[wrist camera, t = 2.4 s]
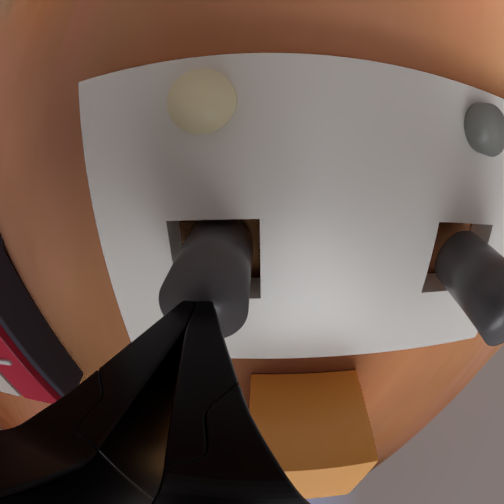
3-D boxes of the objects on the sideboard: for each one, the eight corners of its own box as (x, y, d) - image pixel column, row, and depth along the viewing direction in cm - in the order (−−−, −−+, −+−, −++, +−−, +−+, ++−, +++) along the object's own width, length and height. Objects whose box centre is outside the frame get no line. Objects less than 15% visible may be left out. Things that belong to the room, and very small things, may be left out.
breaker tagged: (253, 273, 12) (250, 340, 9) (192, 273, 12) (167, 338, 9) (252, 213, 11) (246, 267, 8) (184, 215, 11) (150, 267, 8)
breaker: (471, 283, 11) (517, 339, 7) (428, 286, 11) (473, 351, 7) (487, 231, 10) (544, 280, 6) (443, 229, 10) (503, 285, 6)
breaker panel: (463, 320, 14) (479, 344, 12) (143, 331, 14) (131, 360, 13) (511, 108, 8) (541, 114, 6) (98, 83, 9) (68, 82, 7)
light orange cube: (337, 421, 18) (348, 493, 13) (253, 424, 18) (250, 500, 13) (356, 369, 15) (378, 460, 10) (250, 374, 16) (246, 471, 10)
